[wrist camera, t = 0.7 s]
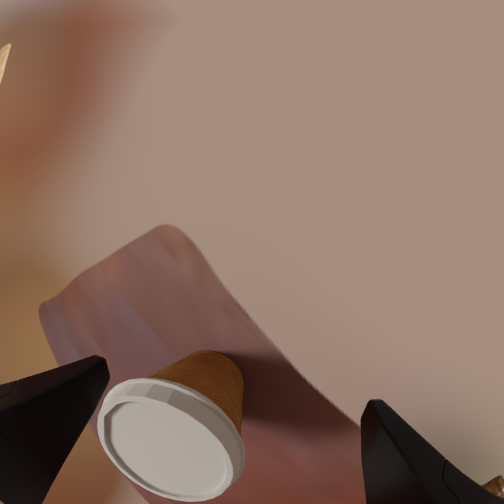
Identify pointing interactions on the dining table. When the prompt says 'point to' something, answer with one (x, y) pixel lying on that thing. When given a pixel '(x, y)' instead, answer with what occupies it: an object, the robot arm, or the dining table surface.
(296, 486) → the dining table surface
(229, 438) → the disposable coffee cup
